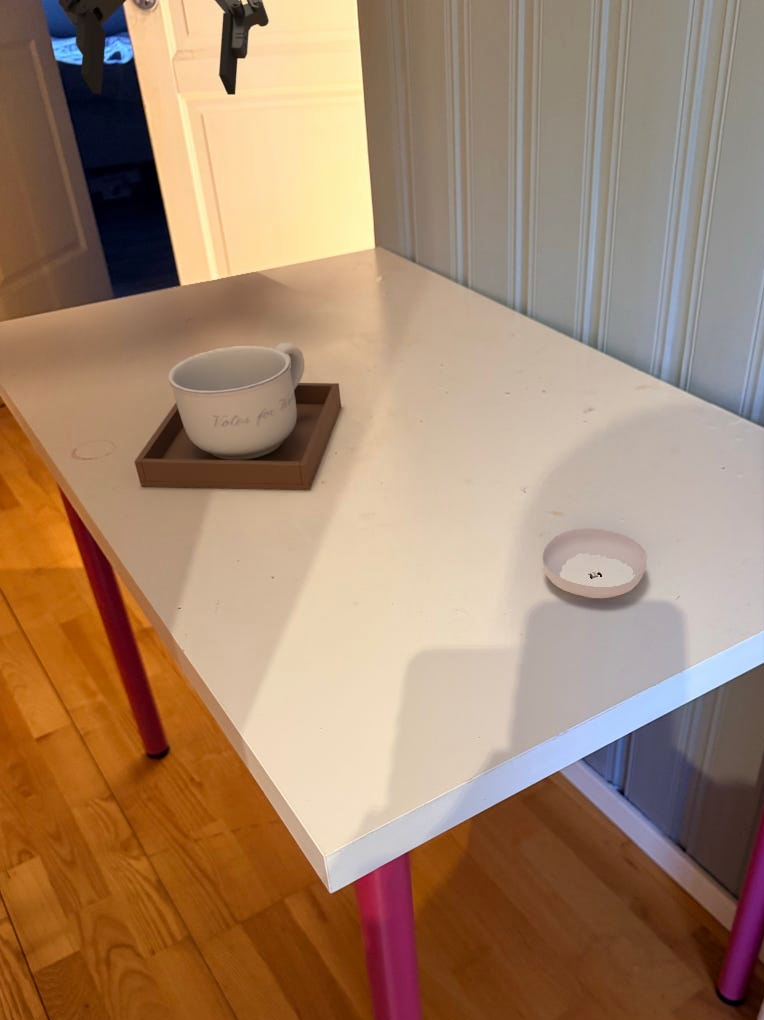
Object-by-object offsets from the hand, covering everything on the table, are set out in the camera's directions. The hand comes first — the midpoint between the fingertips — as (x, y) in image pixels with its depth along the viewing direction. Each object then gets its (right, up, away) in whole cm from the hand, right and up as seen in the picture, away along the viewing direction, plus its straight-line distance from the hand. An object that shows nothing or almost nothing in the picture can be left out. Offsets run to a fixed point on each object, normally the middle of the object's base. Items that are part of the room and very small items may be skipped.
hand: (158, 85), depth 90 cm
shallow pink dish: (+40, -50, -19) cm, 67 cm away
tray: (+9, -36, -2) cm, 37 cm away
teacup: (+10, -36, -2) cm, 37 cm away
